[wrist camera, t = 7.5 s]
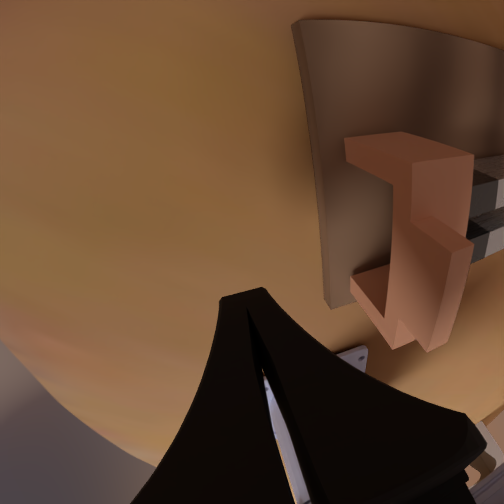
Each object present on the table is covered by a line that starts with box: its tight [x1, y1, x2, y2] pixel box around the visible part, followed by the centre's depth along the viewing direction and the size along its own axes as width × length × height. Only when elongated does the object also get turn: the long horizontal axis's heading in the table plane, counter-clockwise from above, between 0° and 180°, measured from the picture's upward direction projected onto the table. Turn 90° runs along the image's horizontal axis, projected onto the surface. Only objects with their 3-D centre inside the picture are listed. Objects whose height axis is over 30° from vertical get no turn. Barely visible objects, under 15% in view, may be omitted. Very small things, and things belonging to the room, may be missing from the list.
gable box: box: [468, 421, 504, 489], centre depth 40 cm, size 22×13×28 cm, turn 111°
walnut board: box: [291, 20, 504, 310], centre depth 14 cm, size 25×14×1 cm, turn 101°
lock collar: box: [344, 132, 474, 353], centre depth 11 cm, size 3×8×6 cm, turn 11°
